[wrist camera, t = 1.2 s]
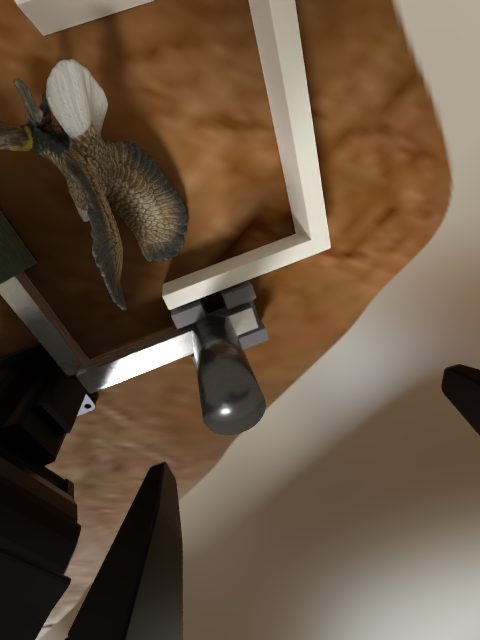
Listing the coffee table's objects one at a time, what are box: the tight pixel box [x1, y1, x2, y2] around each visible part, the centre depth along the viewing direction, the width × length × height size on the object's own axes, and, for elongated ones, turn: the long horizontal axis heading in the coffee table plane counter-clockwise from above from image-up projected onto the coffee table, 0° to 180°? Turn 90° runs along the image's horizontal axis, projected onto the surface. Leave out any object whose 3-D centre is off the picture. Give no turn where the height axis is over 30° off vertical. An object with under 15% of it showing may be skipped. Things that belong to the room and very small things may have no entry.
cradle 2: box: [220, 280, 269, 350], centre depth 20 cm, size 2×5×3 cm, turn 18°
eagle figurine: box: [0, 59, 188, 310], centre depth 14 cm, size 8×7×9 cm
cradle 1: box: [171, 298, 207, 365], centre depth 20 cm, size 2×5×3 cm, turn 18°
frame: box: [15, 0, 331, 310], centre depth 15 cm, size 11×15×2 cm
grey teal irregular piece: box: [0, 210, 266, 435], centre depth 13 cm, size 13×14×10 cm
